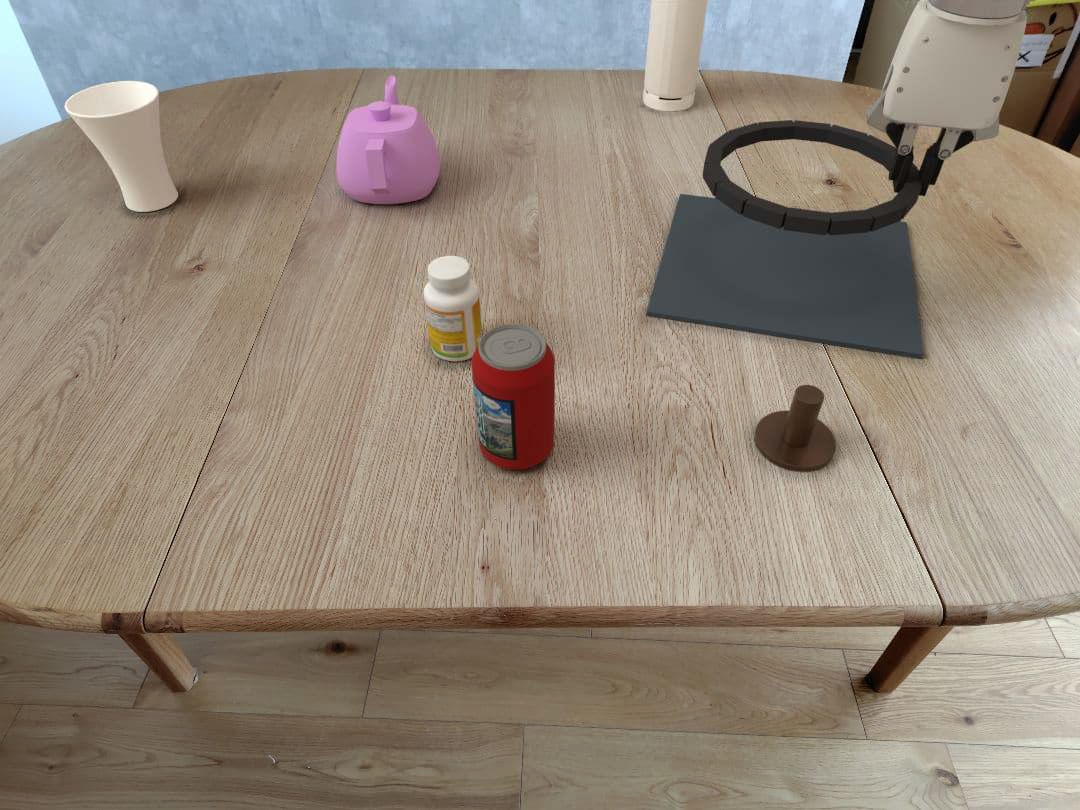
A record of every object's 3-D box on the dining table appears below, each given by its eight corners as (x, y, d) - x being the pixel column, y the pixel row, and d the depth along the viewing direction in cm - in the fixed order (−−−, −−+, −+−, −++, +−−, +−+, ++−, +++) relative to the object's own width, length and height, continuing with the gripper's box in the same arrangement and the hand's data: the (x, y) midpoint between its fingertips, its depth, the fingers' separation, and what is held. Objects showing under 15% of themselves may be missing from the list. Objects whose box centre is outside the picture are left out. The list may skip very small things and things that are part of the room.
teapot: (447, 149, 111) (439, 70, 103) (436, 221, 97) (426, 137, 89) (354, 150, 111) (340, 72, 103) (329, 223, 96) (310, 138, 89)
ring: (908, 145, 86) (912, 132, 85) (923, 248, 72) (929, 233, 70) (715, 125, 91) (717, 111, 90) (691, 218, 76) (693, 203, 75)
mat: (905, 226, 95) (906, 221, 95) (922, 359, 77) (924, 354, 77) (679, 197, 100) (680, 193, 100) (646, 315, 83) (646, 311, 82)
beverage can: (469, 431, 70) (459, 329, 62) (538, 412, 72) (537, 310, 64) (492, 484, 66) (484, 381, 57) (565, 463, 68) (568, 360, 59)
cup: (146, 175, 106) (107, 76, 96) (210, 187, 103) (176, 86, 94) (91, 212, 99) (43, 109, 89) (158, 226, 96) (116, 122, 87)
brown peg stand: (834, 422, 71) (852, 374, 67) (834, 478, 66) (853, 430, 62) (757, 409, 72) (770, 360, 68) (751, 463, 67) (765, 414, 63)
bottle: (669, 116, 118) (694, -97, 99) (631, 99, 123) (648, -107, 103) (704, 101, 122) (734, -107, 102) (666, 86, 126) (688, -116, 107)
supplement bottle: (463, 323, 82) (455, 244, 75) (493, 347, 79) (488, 268, 72) (420, 343, 79) (408, 264, 73) (450, 370, 76) (440, 290, 70)
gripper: (1069, -14, 67) (985, 180, 80) (881, -26, 70) (829, 162, 83) (1089, 15, 62) (995, 216, 75) (884, -1, 65) (828, 196, 78)
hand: (908, 186), depth 79 cm, fingers closed on ring, 1 cm apart
